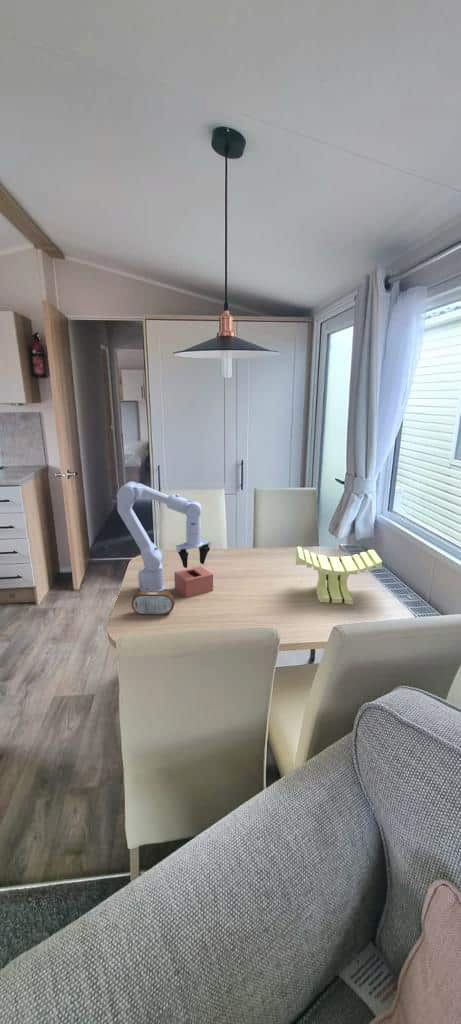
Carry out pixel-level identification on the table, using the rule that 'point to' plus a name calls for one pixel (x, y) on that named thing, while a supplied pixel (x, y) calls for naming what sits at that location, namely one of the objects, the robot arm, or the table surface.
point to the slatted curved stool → (336, 572)
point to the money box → (193, 581)
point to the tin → (153, 602)
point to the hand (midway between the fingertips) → (193, 565)
